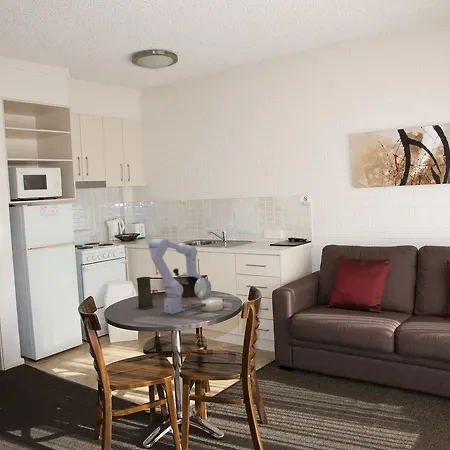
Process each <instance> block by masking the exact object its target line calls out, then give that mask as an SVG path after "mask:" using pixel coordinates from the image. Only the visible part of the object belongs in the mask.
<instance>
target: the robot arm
mask: <svg viewBox="0 0 450 450" xmlns="http://www.w3.org/2000/svg"><path fill="white" fill-rule="evenodd" d="M147 248H148V250H149V251H150V257H151V260H152V262H153V264H154V265H155V267H156V269H157V271H158V273H159V274H160V276H161V279H162V280H163V282H164V283H163V288H164V291H165V294H166V295H167V297H165V298H164V301H163V305H164V306H163V307H164V308H163V309H164V311H163V313H166V314H172V315H173V314H176V313H180V312H184V311H185V310H186V309H185V308H182V293H183V287H182V284H180V282H179V281H178V280H176V279H175V278H174V277H173V274H172V272H171V270H170V268H169V267H168V265H167V263H166V261H165V260H164V255H165V253H166V252H167V250H168V249H169V248H170V249H172V250H173V249H174V250H175V251H176V252H177V253H179V254H182V255H183V256H185V263H186V264H185V266H186V272H183V273H182V275H183V276H182V277H186V279H185V280H187V281H188V283H189V285H190V288H191V290H193V289H194V288H195V283H196V281H197V280H198V279H200V278H202V274H199V273H198V272H197V271H198V270H197V260H196V259H197V255H198V250H197V248H196V247H195V246H190V245H189V244H185V242H178V243H177V242H174V241H171V240H169V239H166V238H151V239H150V240H149V243H148V247H147Z"/></svg>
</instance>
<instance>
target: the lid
mask: <svg viewBox="0 0 450 450" xmlns="http://www.w3.org/2000/svg"><path fill="white" fill-rule="evenodd" d="M194 290H195V294H196V296H197V297H196V298H198V299H199V300H203V299H207V298H210V297H209V296H210V295H211V293H212V284H211V282H210V280H209V279H208V278H206V277H201V278H198V279H197V281H196V283H195V288H194Z"/></svg>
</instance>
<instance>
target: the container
mask: <svg viewBox="0 0 450 450" xmlns="http://www.w3.org/2000/svg"><path fill="white" fill-rule="evenodd" d="M151 279H152V278H151V276H140V277H137V278H136V280H135V281H137V293H138V294H137V297H138V299H137V300H138V304H137V305H138V306H137V308H138V309H139V310H149V309H152V308H154V305H153V298H152V289H151V288H152V286H151Z"/></svg>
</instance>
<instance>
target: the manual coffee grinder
mask: <svg viewBox="0 0 450 450" xmlns="http://www.w3.org/2000/svg"><path fill="white" fill-rule="evenodd" d="M172 273H173V274H174V276H175V277H178V278H180V277H181V278H182V277H183V274H181V275H180V273H179V268H177V267H176V268H173V270H172ZM181 285H182V287H183V293H182V295H181V298H182V299H187V298H188V297H190V298H196V297H195V296H196V294H195V290H194V289H193V290H191V288H190V285H189V283H188V281H187V280H186V279H185V280H181Z"/></svg>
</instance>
